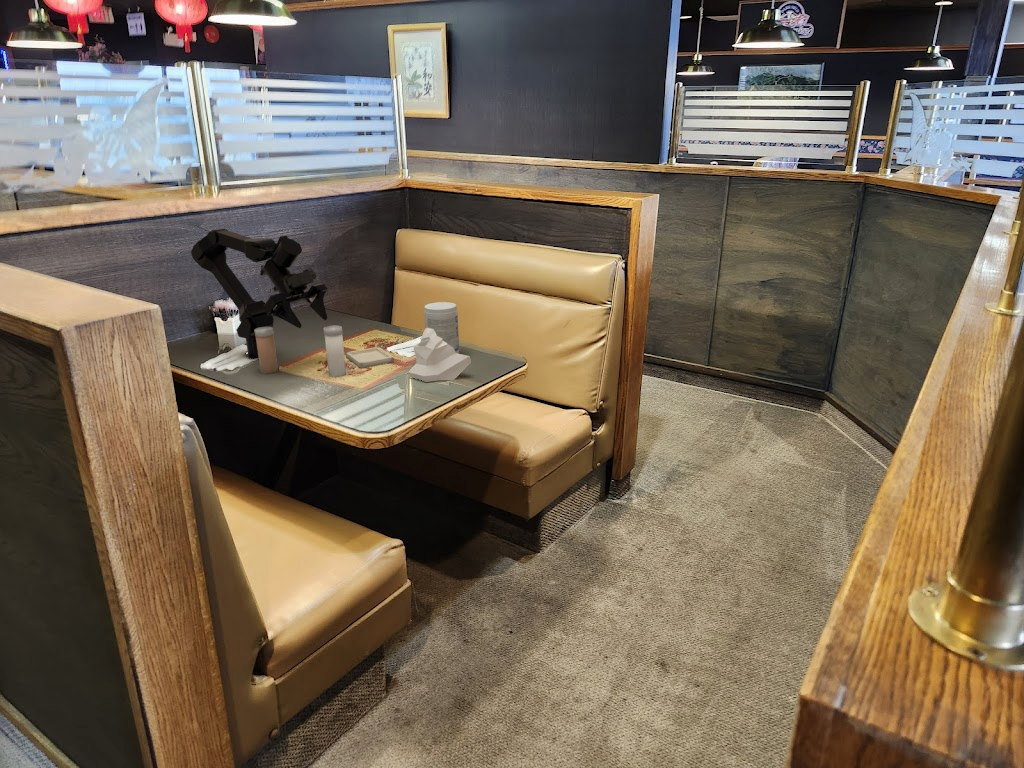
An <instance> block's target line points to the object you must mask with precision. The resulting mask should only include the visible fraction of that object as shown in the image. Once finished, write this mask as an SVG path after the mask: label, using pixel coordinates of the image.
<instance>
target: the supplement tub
mask: <svg viewBox="0 0 1024 768" xmlns="http://www.w3.org/2000/svg"><path fill="white" fill-rule="evenodd" d="M423 307H424V314H423V317H424V327H425V329H426V328H431V329H434V331H435V333H436V335H437V336H438V337H440V338H442V339H443V341H444V342H446V343H447V344H448V345H450V346H452V347H453V348H454V350H455V352H456V353H458V354H460V338H459V337H460V336H459V317H458V308H457V307H458V306H457V304H456V303H454V302H449V301H438V302H431V303H428V304H425V305H424V306H423ZM425 329H424V330H425Z"/></svg>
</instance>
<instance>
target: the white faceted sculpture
mask: <svg viewBox="0 0 1024 768" xmlns="http://www.w3.org/2000/svg"><path fill="white" fill-rule="evenodd" d="M419 340H420V341H419V342H418V343H417V344H415V345H414V346H413V351H414V355H415V358H416V359H415V360H416V361H415V363H414V365H413V366H412V367H411V368H410V370H409V371H408V376H409V378H410V377H412V378H411V379H413V378H415V379H414V380H417V379H419V380H418V381H421V380H422V381H421V382H424V383H428V382H429V383H430V382H436V381H454V380H456V379H457V377H458V376H459V375H460V374H461V373H462V372H464V370H465V369H466V368H467V367H468V366H469V365H470V364H471V363H472V360H471V357H470V355H466V354H462V353H456V352H455V350H454V348H453V347H452V346H450V345H448V344H447V343H446V342H444V341H443V339H442V338H440V337H438V336H437V335H436V333H435V331H434V329H431V328H426V329H424V330H423V333H422V336H420V337H419Z"/></svg>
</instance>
